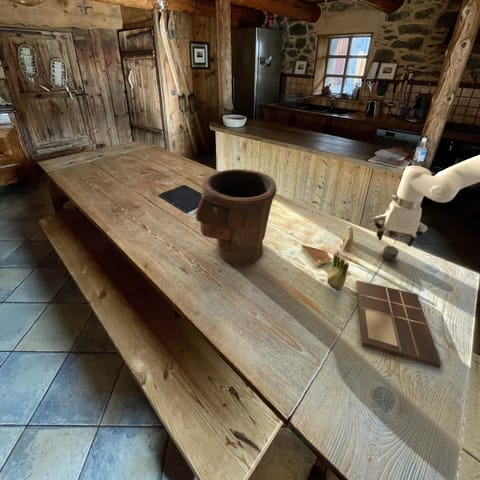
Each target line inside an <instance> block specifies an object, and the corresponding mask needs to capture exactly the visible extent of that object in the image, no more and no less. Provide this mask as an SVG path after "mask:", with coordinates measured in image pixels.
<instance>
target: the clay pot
mask: <svg viewBox="0 0 480 480" xmlns="http://www.w3.org/2000/svg"><path fill="white" fill-rule="evenodd" d="M277 190H278V189H277V183H276V181H275V179H274V178H273V177H272V176H270V175H269V174H267V173H264V172H262V171H258V170H251V169H244V168H243V169H241V168H231V169H224V170H219V171H216V172H213V173H211V174H209V175H207V176H206V177H204V180H203V182H202V184H201V198H200V201H199V204H198V206H197V209H196V214H195V219H196V221H197V222H199V224H200V225H199V227H200V233H201V234H202V236H204V237H205V238H210V239H215V240H216V245H217V248H216V252H217V254H218V256H219V257H220V259H221V260H223V261H224V262H225V263H228V264H230V265H233V266H246V265H251V264H254V263H255V262H256V261H258V260H260V259H262V256H263V255H264V247H263V245H264V239H265V237H266V232H267V226H268V221H269V217H270V213H271V207H272V204H273V200H274V199H275V196H276V194H277Z"/></svg>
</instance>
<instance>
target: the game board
mask: <svg viewBox="0 0 480 480" xmlns="http://www.w3.org/2000/svg"><path fill="white" fill-rule="evenodd" d="M355 289H356V299H357V309H358V321H359V330H360V339H361V346H362V347H365V348H368V349H372V350H376V351H379V352H383V353H386V354H390V355H392V356H396V357H400V358H403V359H407V360H409V361H413V362H417V363H421V364H424V365H427V366H430V367H435V368H438V369H440V368H441V367H442V362H441V360H440V359H441V358H440V356H439V353H438V351H437V347H436V345H435V342H434V339H433V336H432V333H431V330H430V327H429V325H428V321H427V318H426V316H425V313H424V311H423V307H422V304H421V302H420V299H419V295H418V294H417V293H414V292H410V291H405V290H401V289H396V288H392V287H389V286H383V285H381V284H380V285H379V284H375V283H371V282H367V281H361V280H355Z"/></svg>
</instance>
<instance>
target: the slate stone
mask: <svg viewBox="0 0 480 480" xmlns="http://www.w3.org/2000/svg"><path fill="white" fill-rule="evenodd" d="M383 247H384V248H383V251H382V253H381V257H382V259H383V260H384V261H385V262H388V263H395V262H396V261H397V259H398V256H399V250H398V248H396V247H395V246H392V245H385V246H383Z"/></svg>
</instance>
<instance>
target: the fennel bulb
mask: <svg viewBox="0 0 480 480" xmlns="http://www.w3.org/2000/svg"><path fill="white" fill-rule="evenodd" d="M349 267H350V264H349V262H347V261H346V259H345V257H342V258H341V256H340V255H339V253H338V254H337V252H334V253H333V257H332V263H331V265H330V267H329V270H328V273H327V278H326V280H327V284H328V285H329V286H330V287H331V288H332V289H335V290H341V289H342V288H343V287H344V285H345V283H346V280H347V275H348V270H349Z"/></svg>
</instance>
